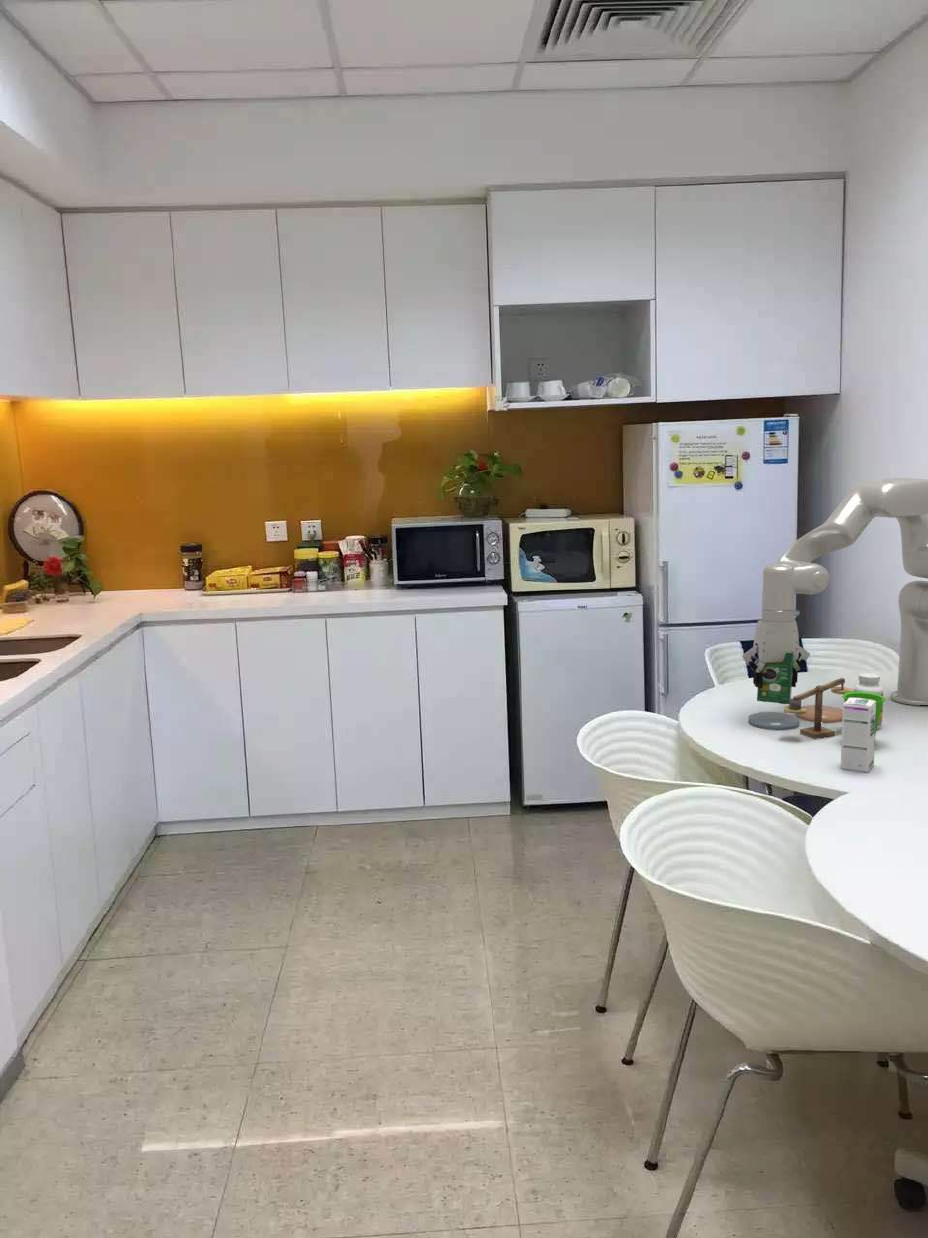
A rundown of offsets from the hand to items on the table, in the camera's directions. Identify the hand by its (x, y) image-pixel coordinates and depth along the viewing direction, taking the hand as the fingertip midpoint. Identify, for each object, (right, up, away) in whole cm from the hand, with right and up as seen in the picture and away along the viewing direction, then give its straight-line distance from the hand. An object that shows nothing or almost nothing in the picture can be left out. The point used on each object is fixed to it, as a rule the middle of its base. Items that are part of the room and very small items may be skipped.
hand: (775, 686), depth 245 cm
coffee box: (0, -4, +1) cm, 4 cm away
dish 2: (+14, -8, +7) cm, 17 cm away
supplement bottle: (+21, -10, -3) cm, 24 cm away
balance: (+7, -11, -8) cm, 16 cm away
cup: (+15, -12, -15) cm, 25 cm away
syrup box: (+8, -15, -31) cm, 36 cm away
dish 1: (0, -9, +2) cm, 9 cm away
